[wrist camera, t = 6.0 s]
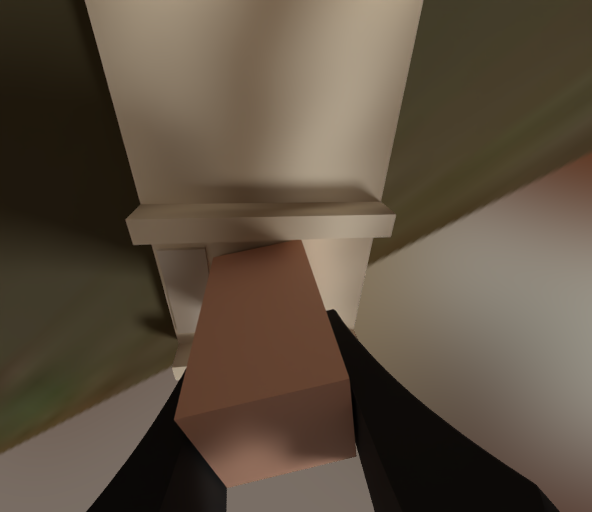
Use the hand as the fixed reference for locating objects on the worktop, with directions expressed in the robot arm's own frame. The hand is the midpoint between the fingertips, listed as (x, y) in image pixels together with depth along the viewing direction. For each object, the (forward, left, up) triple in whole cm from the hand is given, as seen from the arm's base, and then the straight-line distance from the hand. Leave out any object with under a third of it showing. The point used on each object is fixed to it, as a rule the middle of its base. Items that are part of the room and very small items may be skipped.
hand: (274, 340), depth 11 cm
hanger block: (0, 0, -3) cm, 3 cm away
